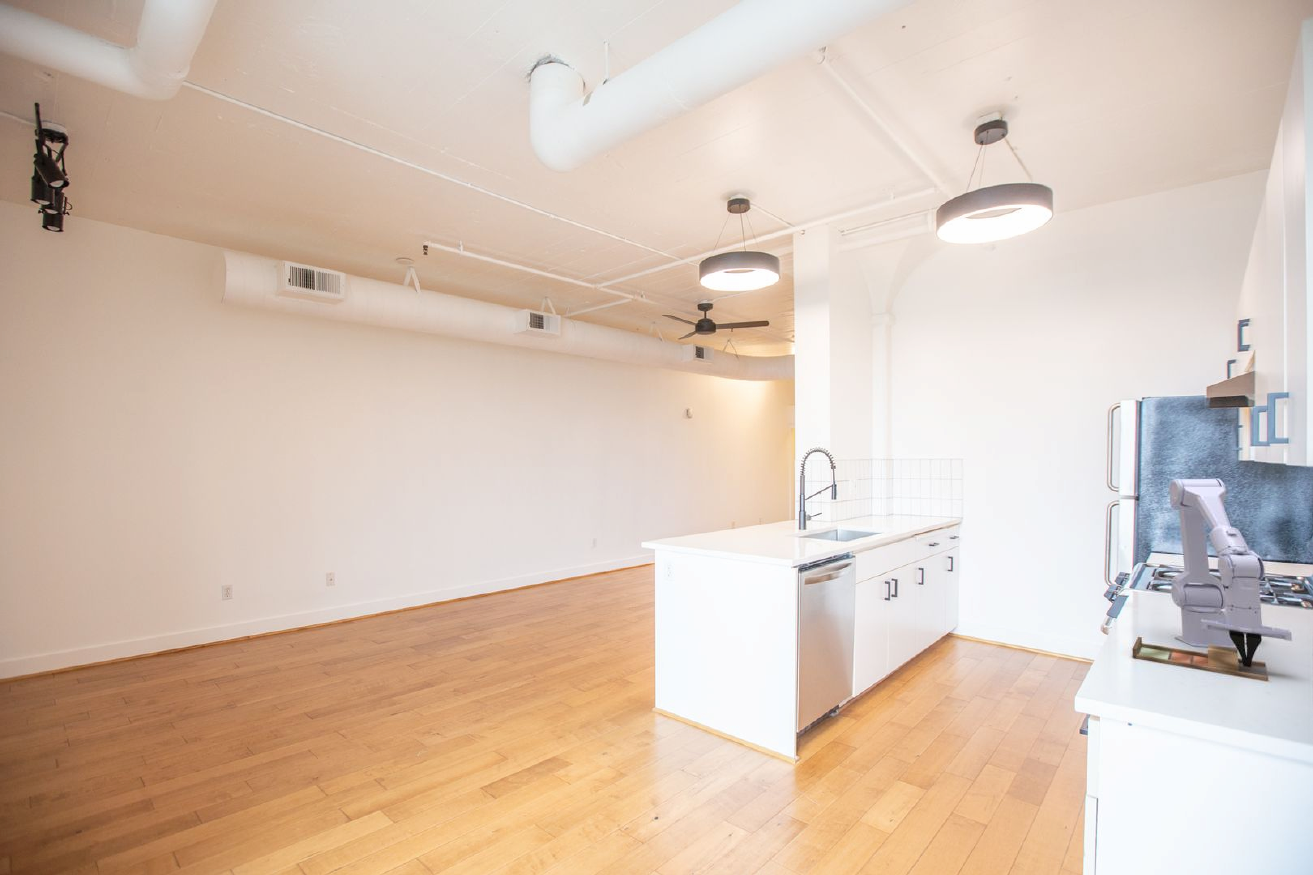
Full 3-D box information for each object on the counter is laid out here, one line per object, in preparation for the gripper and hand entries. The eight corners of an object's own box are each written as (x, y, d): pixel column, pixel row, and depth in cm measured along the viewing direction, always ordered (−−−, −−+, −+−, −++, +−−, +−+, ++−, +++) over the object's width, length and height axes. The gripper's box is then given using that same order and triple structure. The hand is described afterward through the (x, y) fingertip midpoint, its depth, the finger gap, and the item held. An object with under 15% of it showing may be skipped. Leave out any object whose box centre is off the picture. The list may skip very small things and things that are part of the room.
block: (1238, 665, 135) (1237, 648, 136) (1238, 671, 132) (1237, 653, 132) (1209, 661, 139) (1207, 644, 139) (1208, 666, 135) (1207, 649, 136)
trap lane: (1265, 666, 135) (1264, 656, 135) (1268, 682, 126) (1267, 670, 126) (1138, 646, 151) (1138, 636, 151) (1132, 658, 142) (1132, 648, 142)
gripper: (1199, 604, 136) (1203, 662, 135) (1290, 614, 125) (1295, 678, 125) (1200, 599, 141) (1204, 655, 140) (1288, 608, 130) (1292, 669, 130)
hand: (1247, 665), depth 133 cm, fingers closed
